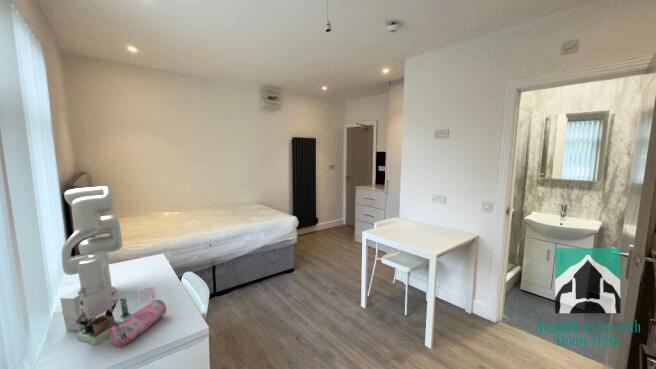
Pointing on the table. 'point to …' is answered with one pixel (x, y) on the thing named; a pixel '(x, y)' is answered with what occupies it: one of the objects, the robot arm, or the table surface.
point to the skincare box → (71, 310)
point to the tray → (95, 336)
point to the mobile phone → (146, 295)
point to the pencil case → (137, 323)
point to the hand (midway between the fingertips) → (100, 326)
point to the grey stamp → (124, 308)
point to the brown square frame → (102, 324)
